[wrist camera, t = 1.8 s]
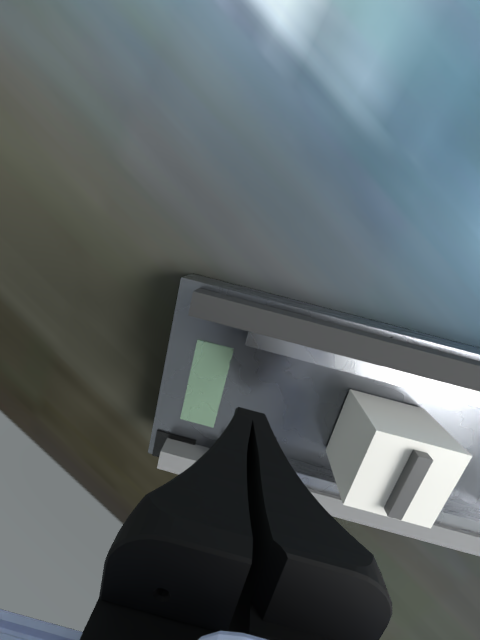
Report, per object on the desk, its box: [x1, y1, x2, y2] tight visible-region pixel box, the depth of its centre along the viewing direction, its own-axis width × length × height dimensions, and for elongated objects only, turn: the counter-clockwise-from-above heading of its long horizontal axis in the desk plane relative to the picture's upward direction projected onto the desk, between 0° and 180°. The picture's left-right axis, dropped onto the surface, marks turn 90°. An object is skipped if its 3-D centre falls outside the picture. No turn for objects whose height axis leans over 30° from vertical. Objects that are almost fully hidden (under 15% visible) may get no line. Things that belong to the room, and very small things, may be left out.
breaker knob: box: [326, 389, 472, 528], centre depth 13 cm, size 4×4×4 cm
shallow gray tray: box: [157, 288, 480, 556], centre depth 14 cm, size 10×22×1 cm, turn 76°
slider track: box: [148, 274, 480, 535], centre depth 15 cm, size 11×24×4 cm, turn 76°
